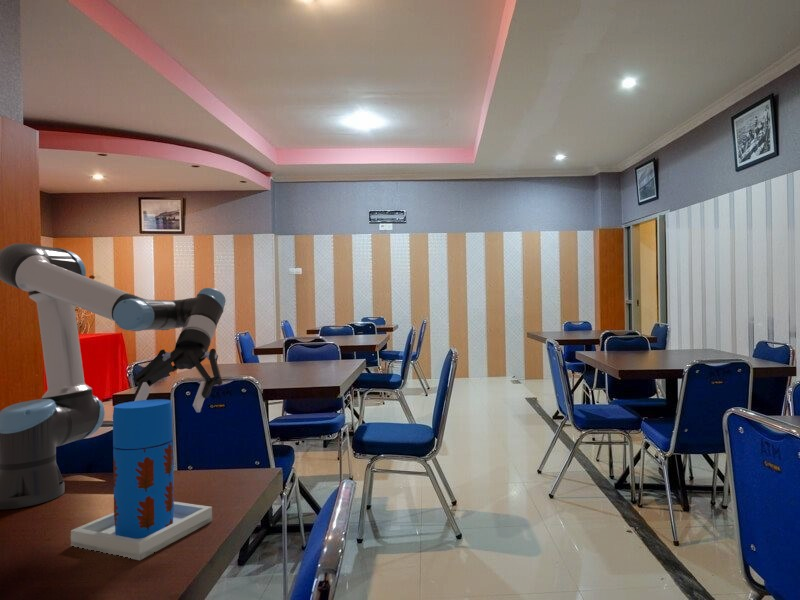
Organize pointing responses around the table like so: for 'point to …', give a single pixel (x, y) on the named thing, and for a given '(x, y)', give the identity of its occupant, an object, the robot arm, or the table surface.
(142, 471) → the thermos
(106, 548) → the tray
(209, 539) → the table surface
